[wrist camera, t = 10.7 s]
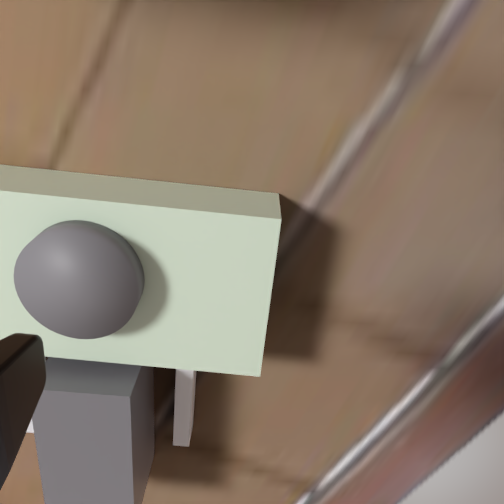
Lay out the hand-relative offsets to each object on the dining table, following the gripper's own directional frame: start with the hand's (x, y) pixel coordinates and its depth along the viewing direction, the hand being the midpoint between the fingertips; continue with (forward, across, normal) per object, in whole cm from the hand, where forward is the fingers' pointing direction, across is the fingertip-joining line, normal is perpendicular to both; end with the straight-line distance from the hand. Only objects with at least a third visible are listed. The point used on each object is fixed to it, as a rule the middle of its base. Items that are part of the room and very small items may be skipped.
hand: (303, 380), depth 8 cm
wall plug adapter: (+12, +7, +7) cm, 16 cm away
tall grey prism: (+12, +7, +12) cm, 18 cm away
